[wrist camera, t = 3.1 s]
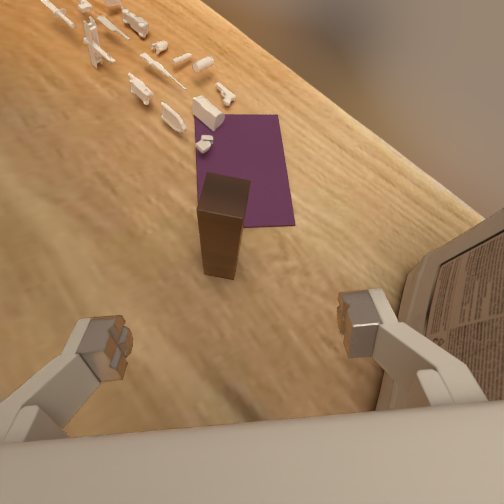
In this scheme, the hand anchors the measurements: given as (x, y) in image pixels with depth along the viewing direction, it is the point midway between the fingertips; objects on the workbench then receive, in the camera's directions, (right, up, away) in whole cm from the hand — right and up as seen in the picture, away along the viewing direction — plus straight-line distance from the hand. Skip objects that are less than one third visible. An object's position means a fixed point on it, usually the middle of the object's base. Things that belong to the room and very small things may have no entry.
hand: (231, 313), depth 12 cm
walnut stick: (-3, +1, +26) cm, 26 cm away
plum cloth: (-1, +14, +31) cm, 34 cm away
